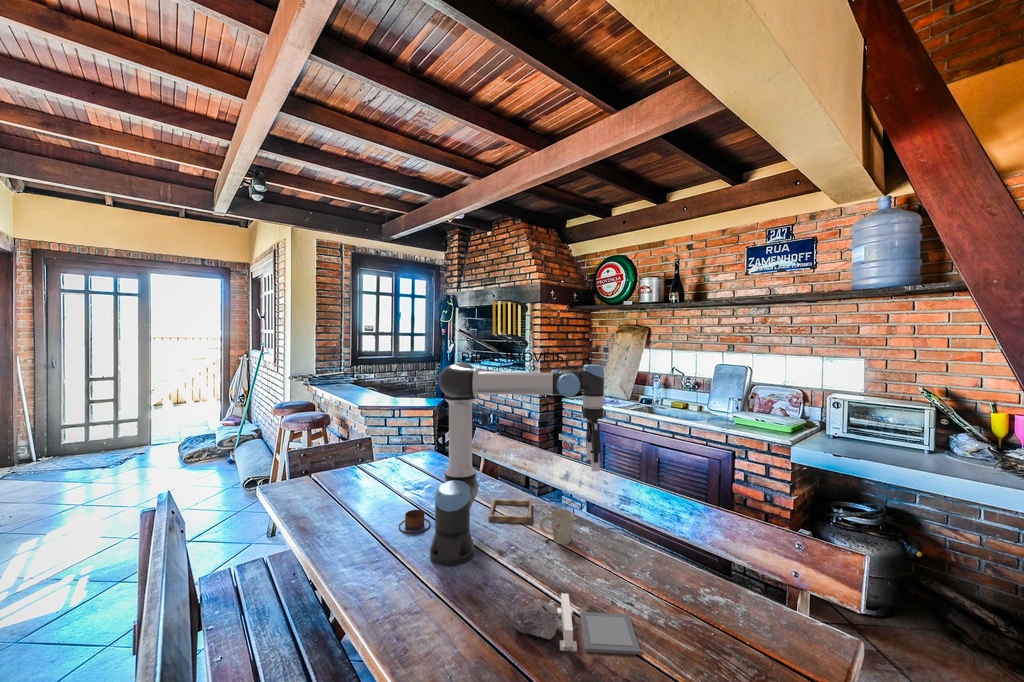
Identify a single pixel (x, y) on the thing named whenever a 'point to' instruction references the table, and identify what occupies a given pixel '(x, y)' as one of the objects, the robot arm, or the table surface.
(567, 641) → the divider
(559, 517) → the mug
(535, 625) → the rock
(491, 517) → the wooden frame
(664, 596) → the table surface
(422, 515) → the cup and saucer
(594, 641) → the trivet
